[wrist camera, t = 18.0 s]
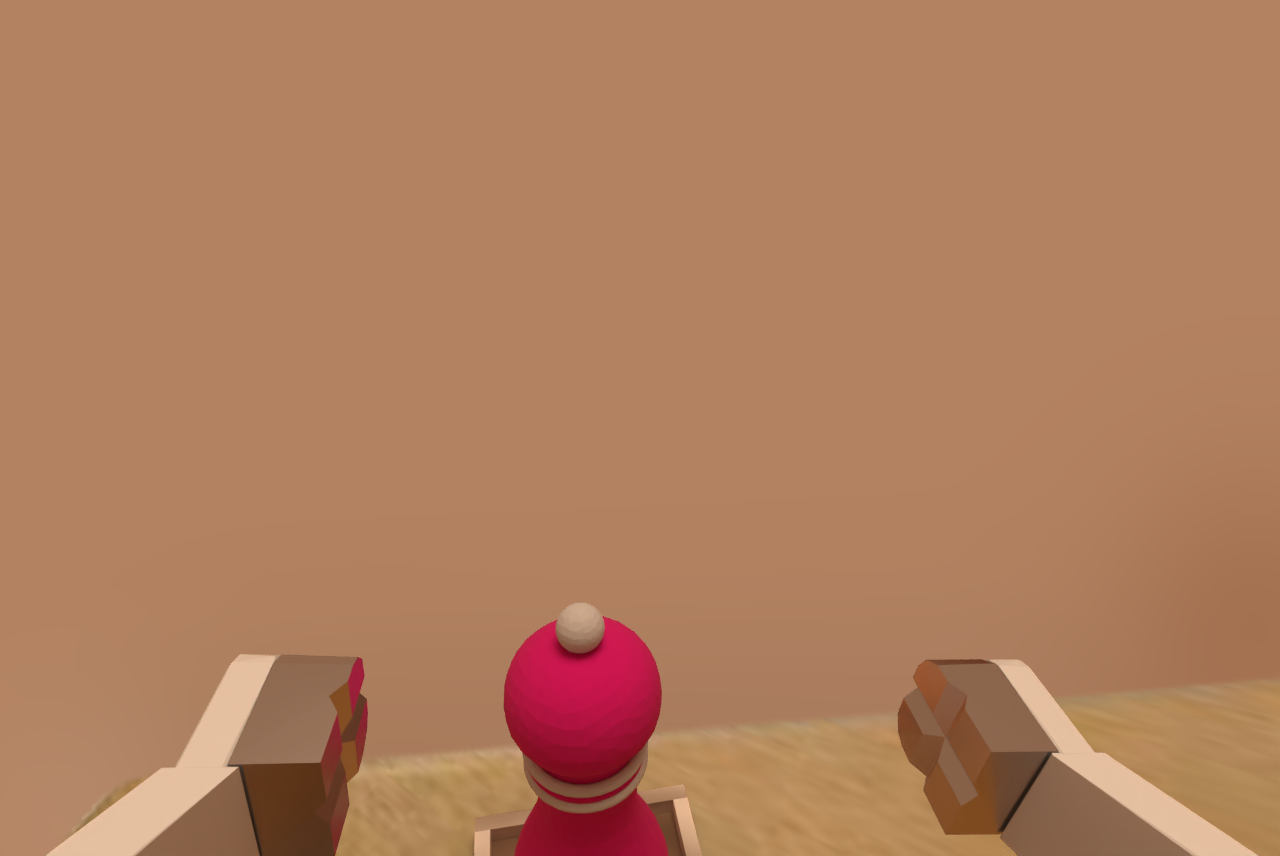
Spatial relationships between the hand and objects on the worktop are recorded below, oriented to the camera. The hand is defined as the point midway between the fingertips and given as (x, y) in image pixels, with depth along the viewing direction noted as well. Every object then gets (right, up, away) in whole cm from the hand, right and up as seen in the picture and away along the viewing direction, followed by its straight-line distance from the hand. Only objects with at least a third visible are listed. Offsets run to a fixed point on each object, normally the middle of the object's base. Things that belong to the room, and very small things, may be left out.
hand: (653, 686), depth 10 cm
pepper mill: (-2, -21, +24) cm, 31 cm away
